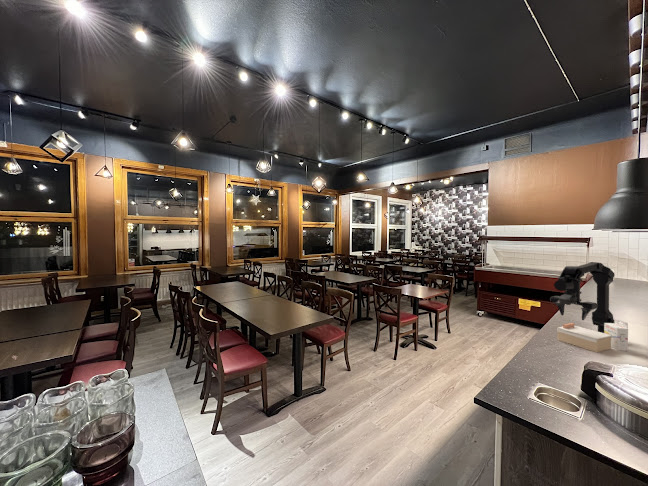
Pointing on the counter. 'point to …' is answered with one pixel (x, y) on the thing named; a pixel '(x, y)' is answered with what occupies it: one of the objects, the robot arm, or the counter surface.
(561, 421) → the counter surface
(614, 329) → the ink cartridge box
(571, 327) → the lid
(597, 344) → the wooden box
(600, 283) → the robot arm
